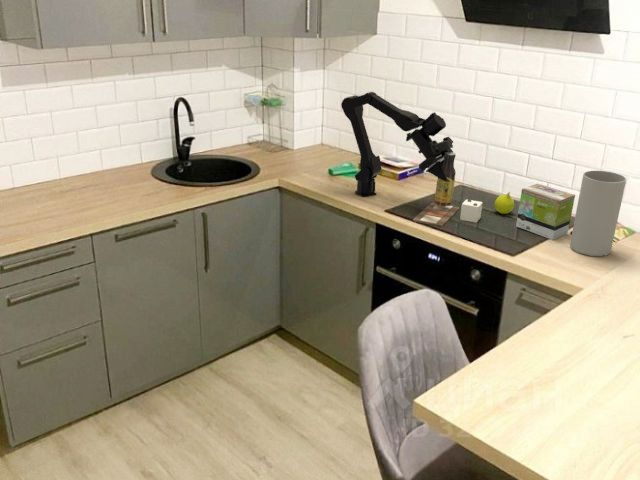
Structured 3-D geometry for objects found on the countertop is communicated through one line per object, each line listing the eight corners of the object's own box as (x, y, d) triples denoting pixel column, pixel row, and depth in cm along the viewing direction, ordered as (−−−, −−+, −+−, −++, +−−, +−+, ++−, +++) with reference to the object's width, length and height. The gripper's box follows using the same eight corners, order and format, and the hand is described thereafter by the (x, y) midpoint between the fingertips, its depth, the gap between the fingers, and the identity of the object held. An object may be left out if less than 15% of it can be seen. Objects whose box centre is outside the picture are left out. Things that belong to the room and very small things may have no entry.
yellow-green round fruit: (508, 218, 235) (512, 192, 231) (490, 213, 239) (493, 188, 235) (515, 212, 240) (519, 187, 236) (498, 208, 244) (501, 183, 240)
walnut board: (431, 203, 247) (431, 202, 247) (459, 209, 242) (459, 207, 242) (412, 221, 230) (412, 219, 230) (442, 226, 225) (442, 224, 225)
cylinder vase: (574, 255, 205) (588, 181, 195) (565, 240, 216) (579, 169, 206) (615, 258, 203) (631, 183, 193) (604, 243, 215) (619, 171, 205)
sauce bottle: (430, 203, 239) (436, 152, 231) (440, 200, 243) (446, 149, 235) (445, 208, 235) (451, 156, 227) (455, 204, 239) (461, 153, 231)
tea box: (514, 227, 226) (520, 187, 220) (530, 221, 232) (537, 182, 226) (552, 241, 216) (560, 199, 210) (568, 234, 222) (576, 193, 216)
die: (464, 214, 237) (466, 197, 234) (480, 217, 235) (482, 200, 232) (460, 219, 232) (462, 202, 230) (476, 222, 230) (478, 205, 227)
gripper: (430, 135, 223) (456, 172, 222) (450, 126, 237) (475, 160, 236) (407, 153, 230) (432, 189, 229) (429, 143, 244) (453, 176, 243)
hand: (449, 178), depth 234 cm, fingers closed on sauce bottle, 6 cm apart
